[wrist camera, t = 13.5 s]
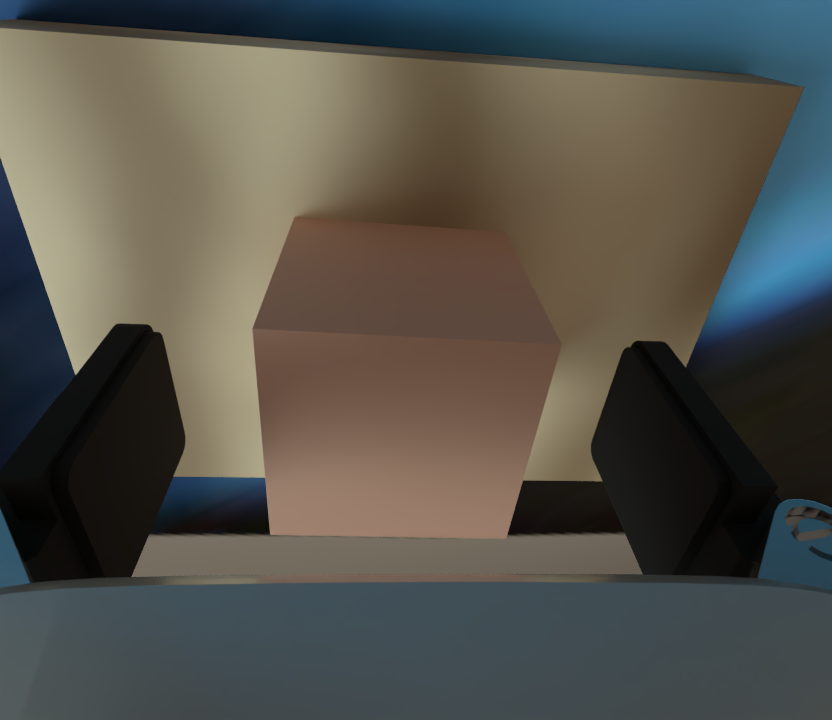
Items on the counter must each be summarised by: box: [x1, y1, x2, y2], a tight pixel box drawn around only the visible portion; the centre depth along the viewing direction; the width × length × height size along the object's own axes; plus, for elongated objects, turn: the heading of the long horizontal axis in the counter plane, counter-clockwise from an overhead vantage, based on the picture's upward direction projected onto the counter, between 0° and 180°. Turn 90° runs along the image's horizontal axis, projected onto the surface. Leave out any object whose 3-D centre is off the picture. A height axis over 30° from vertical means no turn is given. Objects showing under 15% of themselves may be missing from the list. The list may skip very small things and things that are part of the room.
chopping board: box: [0, 19, 804, 481], centre depth 15 cm, size 17×12×2 cm
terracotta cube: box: [252, 217, 562, 539], centre depth 12 cm, size 5×5×5 cm
